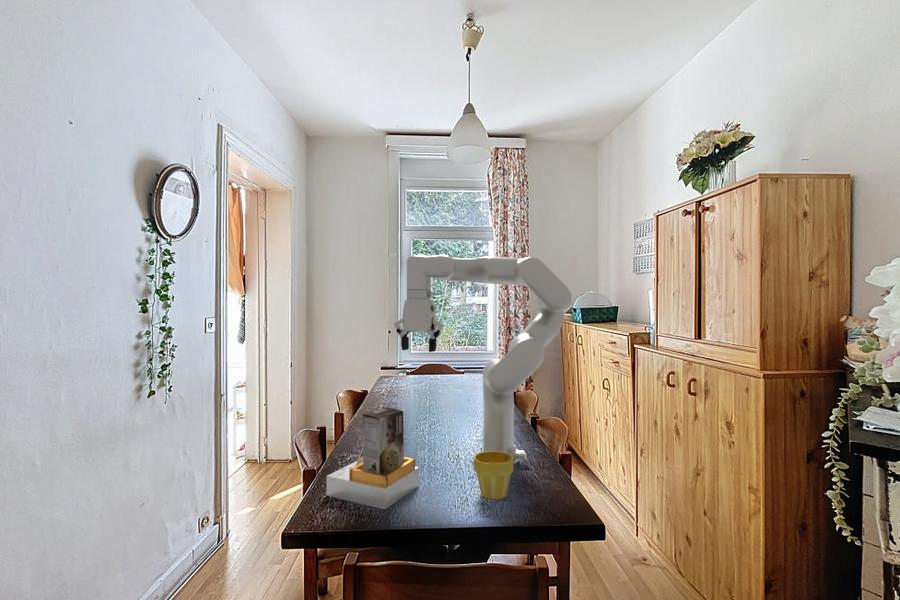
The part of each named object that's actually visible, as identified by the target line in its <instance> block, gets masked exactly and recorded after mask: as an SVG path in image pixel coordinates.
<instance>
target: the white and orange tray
mask: <svg viewBox="0 0 900 600" xmlns="http://www.w3.org/2000/svg"><path fill="white" fill-rule="evenodd" d="M419 469H420V467H418V466H416V458H413V457H412V458H411V457H405V456H404V463H403V464H402V465H400V466H398V467H397V468H395V469H393V470H392V471H390V472H388V473H387V474H385V475H384V474H379V473H374V472H369V471H365V470H363V456H360V457H358V458H356V461H354V462H352V463H349V464H348V465H346V466H344V467H342V468H339V469H338V470H336V471H333V472H332V473H329V474H327V475H326V496H327V497H331V498H335V499H340V500H344V501H349V502H351V503H356V504H360V505H365V506H369V507H373V508H377V509H381V510H387V509H388V508H389V507H391V506H393V505H394V504H395V503H397V502H398V501H399V500H401V499H402V498H404V497H405V496H406V495H408V494H410V493H411V492H412V491H414V490H415V489H416V488H418V487H419V485H420V484H419V480H420V477H419V474H420V473H419Z"/></svg>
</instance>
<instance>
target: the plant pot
mask: <svg viewBox="0 0 900 600" xmlns="http://www.w3.org/2000/svg"><path fill="white" fill-rule="evenodd" d="M514 465H515V464H514V461H513V456H512V455H510V454H508V453H505V452H501V451H484V452H483V451H480V452H477V453H475V454H474V456H473V471H474V472H475V473H476V476H477V480H478V486H479V490H480V491H479V492H480V495H481V496H482V497H484V498H485V499H489V500H501V499H504V498H506V497H507V495H508V489H509V485H510V484H509V483H510V480H511V475H512V473H513V472H514Z"/></svg>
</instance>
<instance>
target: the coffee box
mask: <svg viewBox="0 0 900 600" xmlns="http://www.w3.org/2000/svg"><path fill="white" fill-rule="evenodd" d="M404 436H405V435H404V410H401V409H398V408H393V407H390V406H389V407H388V406H387V407H382V408H380V409H376V410H373V411H368V412H364V413H362V443H363V444H362V457H363V470H365V471H369V472H374V473H379V474H384V475H385V474H387V473H388V472H390V471H392V470H393V469H395V468H397V467H398V466H400V465H402V464H403V463H404V457H405V456H404V447H405V446H404V441H405V439H404Z"/></svg>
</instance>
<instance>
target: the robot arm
mask: <svg viewBox="0 0 900 600" xmlns="http://www.w3.org/2000/svg"><path fill="white" fill-rule="evenodd" d="M432 279H437V280H440V281H449V282H468V283H470V282H471V283H479V284H488V285H489V284H490V285H491V284H492V285H494V284H495V285H508V286H509V285H512V286H527V288H528V289H529V290H530V291H531V292H532V293H533V294H534V296H535V297H536V302H537V307H538V308H537V313H536V315H535V317H534V318H533V320H531V322H530V323H529V324H528V325H527V326H526V327H525V328H524V329H523V330H522V331H520V333H519V334H518V335H517V336H515V337H514V338H513V339H512V340H511V341H510V343H509V345H508V349H507V350H508V351H507V353H506V354H505V355H504V356H503V357H502V358H493V359H490V360H489V361H488V362H486V364H485V365H484V367H483V370H482V390H483V392H482V394H483V396H482V398H483V400H482V401H483V403H482V404H483V410H482V411H483V413H482V415H483V416H482V417H483V418H482V419H483V421H482V424H483V425H482V430H483V432H482V433H483V434H482V437H483V438H482V452H484V451H501V452H505V453H508V454H510V455H512V456H513V461H514V465H516V464H517V463H518V462H519V460H520V459H521V460H526V459H527V453H526V450H519V449H518V448H517V444H514V434H515V433H514V430H515V429H514V426H515V425H514V419H515V418H514V416H515V413H514V411H515V398H514V392H515V391H516V390H517V389H518V388H519V387H521V386H522V384H523V383H524V382H526V380H527V379H529V378H530V377H531V375H533V373H535V372H536V371H537V369H539V367H540V366H541V364H542V363H543V361H544V359H545V353H546V352H545V348H546V347H547V346H548V345H549V344H550V343H551V341H552V340H554V338H555V337H556V336H557V335H558V334H559V332H560V330H561V329H562V326H563V322H564V316H565V313H564V312H565V311H566V310H567V309H568V308H569V307H570V305H571V303H572V293H571V291H570V289H569V288H568V287H567V285H566V284H565V283H564V282H563V281H562V280H561V278H559V277H558V276H557V275H556V274H555V273H554V272H553V271H552V270H551V269H550V267H548V266H547V265H546V264H545V263H544V262H543V261H542V260H541V259H539V258H537V257H535V256H528V257H524V258H523V257H507V256H506V257H504V256H491V255H490V256H481V257H474V258H461V257H459V258H457V257H451V256H450V255H447V254H438V255H431V256H430V255H428V256H427V255H410V256H409V257H407V258H406V299H405V300H404V303H403V309H402V318H401V319H399V320H397V321H396V322H394V328H395V330H396V331H395V332H396V333H397V334H398V335H399V338H400V345H401V346H400V347H401V350H402V351H408V350H409V349H410V347H409V346H410V344H409V343H410V342H409V341H410V339H409V334H410V333H427V335H428V336H429V338H428V352H429V353H433V352H436V349H437V339H438V338H439V336H440V335H441V334H442V333H443V332H442V331H444V327H445V324H444V323H443V322H441V321H439V320H437V316H436V314H437V313H436V308H435V301H434V299H432V297H434V296H435V291H432ZM401 326H402V327H401Z"/></svg>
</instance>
